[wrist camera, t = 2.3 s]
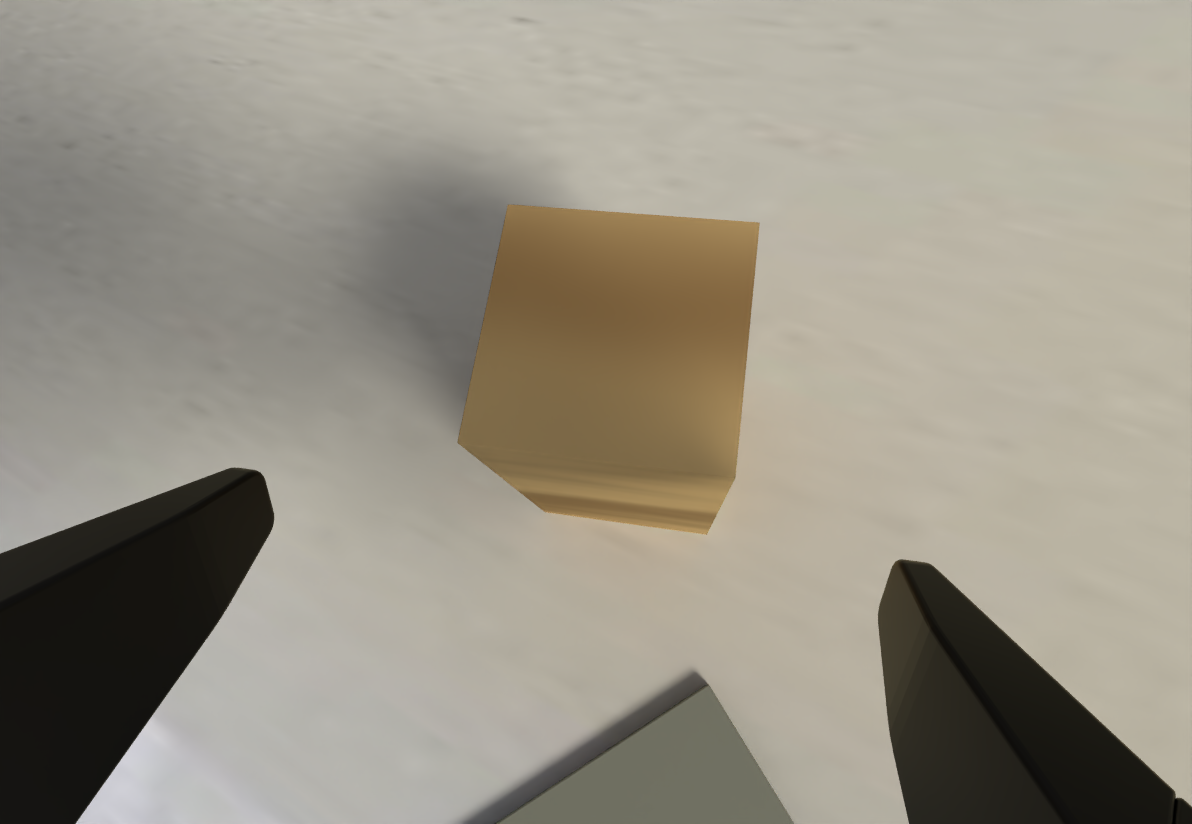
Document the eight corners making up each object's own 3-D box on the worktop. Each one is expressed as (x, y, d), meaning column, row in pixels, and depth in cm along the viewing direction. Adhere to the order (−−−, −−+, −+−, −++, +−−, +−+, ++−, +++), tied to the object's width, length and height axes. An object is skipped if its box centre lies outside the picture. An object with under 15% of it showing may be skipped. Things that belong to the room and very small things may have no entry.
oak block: (706, 534, 20) (735, 477, 11) (544, 512, 21) (457, 442, 12) (722, 378, 21) (759, 222, 13) (570, 362, 22) (508, 205, 13)
